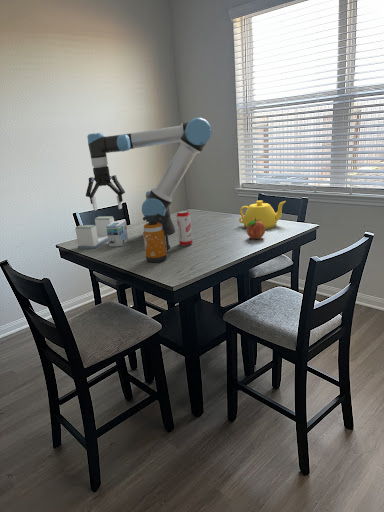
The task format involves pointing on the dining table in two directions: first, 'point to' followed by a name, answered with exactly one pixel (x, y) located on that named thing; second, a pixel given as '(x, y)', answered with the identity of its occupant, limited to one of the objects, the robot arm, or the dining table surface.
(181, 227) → the beer can
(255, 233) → the fruit
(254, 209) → the teapot
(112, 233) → the light bulb box
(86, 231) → the white u-shaped holder
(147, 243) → the canister
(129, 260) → the dining table surface
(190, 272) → the dining table surface
